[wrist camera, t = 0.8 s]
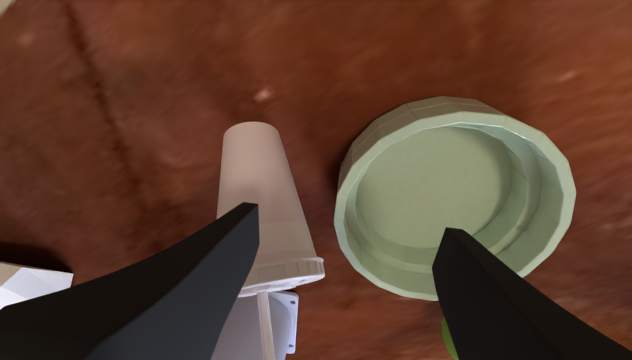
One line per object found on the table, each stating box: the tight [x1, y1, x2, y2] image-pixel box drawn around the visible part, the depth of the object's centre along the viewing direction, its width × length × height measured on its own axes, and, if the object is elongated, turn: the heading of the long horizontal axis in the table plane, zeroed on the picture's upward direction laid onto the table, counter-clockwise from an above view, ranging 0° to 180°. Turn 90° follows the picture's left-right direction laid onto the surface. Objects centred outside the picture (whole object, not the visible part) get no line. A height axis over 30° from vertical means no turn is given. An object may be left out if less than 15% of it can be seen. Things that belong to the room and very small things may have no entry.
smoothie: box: [217, 122, 325, 360], centre depth 16 cm, size 6×6×14 cm
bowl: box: [334, 96, 576, 301], centre depth 19 cm, size 13×13×4 cm
